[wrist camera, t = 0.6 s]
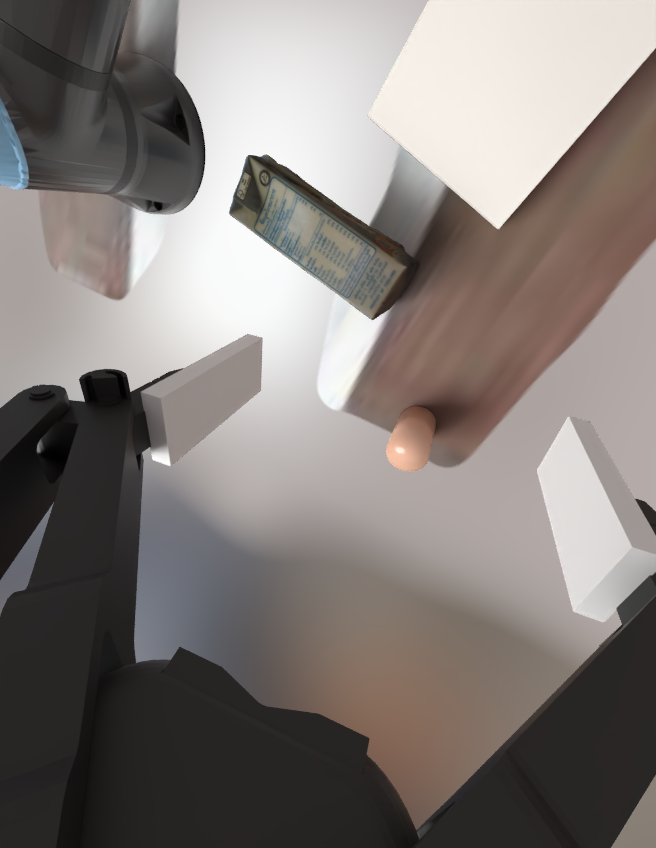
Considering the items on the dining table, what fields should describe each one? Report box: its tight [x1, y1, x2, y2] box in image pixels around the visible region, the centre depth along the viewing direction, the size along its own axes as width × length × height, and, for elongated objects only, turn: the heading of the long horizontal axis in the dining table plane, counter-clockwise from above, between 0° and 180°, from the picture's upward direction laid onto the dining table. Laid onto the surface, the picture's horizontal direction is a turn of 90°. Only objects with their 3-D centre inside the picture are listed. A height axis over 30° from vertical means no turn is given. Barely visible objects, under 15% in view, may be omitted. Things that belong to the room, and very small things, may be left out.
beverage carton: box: [229, 155, 419, 320], centre depth 38 cm, size 8×19×7 cm
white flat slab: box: [367, 0, 656, 229], centre depth 29 cm, size 16×20×3 cm
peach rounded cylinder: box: [386, 406, 436, 471], centre depth 45 cm, size 5×5×8 cm
